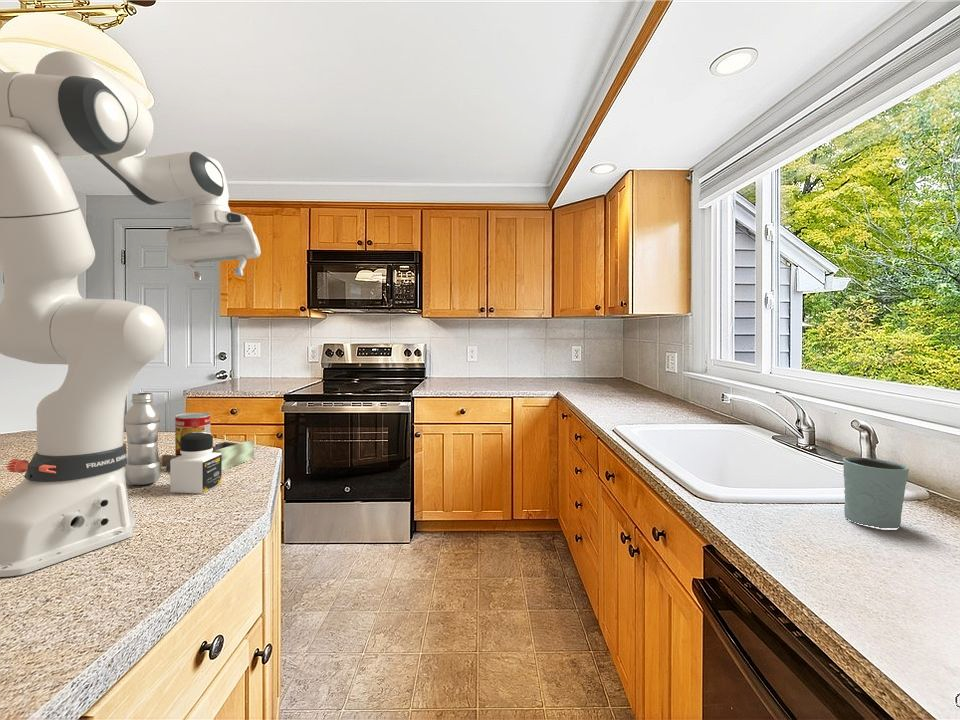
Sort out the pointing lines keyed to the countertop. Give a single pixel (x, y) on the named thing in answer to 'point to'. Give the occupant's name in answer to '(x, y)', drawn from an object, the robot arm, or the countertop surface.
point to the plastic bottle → (142, 441)
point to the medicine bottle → (196, 465)
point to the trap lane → (225, 454)
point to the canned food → (190, 426)
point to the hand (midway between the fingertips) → (218, 277)
